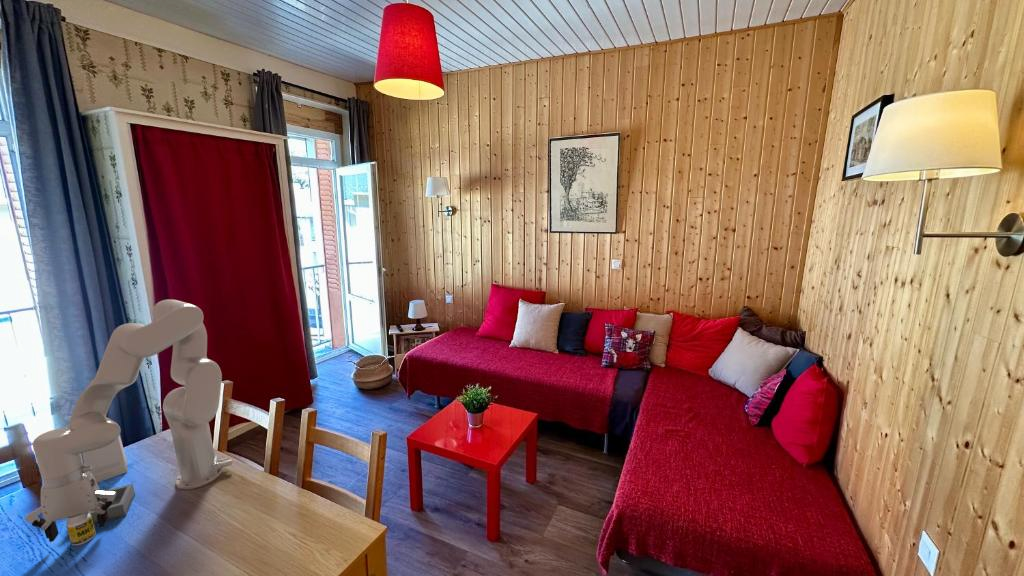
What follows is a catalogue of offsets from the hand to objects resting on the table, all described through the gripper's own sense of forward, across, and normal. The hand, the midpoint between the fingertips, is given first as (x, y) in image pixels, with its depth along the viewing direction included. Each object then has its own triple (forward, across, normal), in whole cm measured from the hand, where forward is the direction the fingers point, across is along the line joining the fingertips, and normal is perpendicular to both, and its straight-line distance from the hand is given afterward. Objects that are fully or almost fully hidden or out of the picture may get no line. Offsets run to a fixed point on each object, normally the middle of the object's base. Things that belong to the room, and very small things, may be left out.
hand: (79, 530), depth 111 cm
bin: (+3, -2, -10) cm, 11 cm away
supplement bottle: (+3, 0, 0) cm, 3 cm away
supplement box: (+3, +3, -33) cm, 33 cm away
